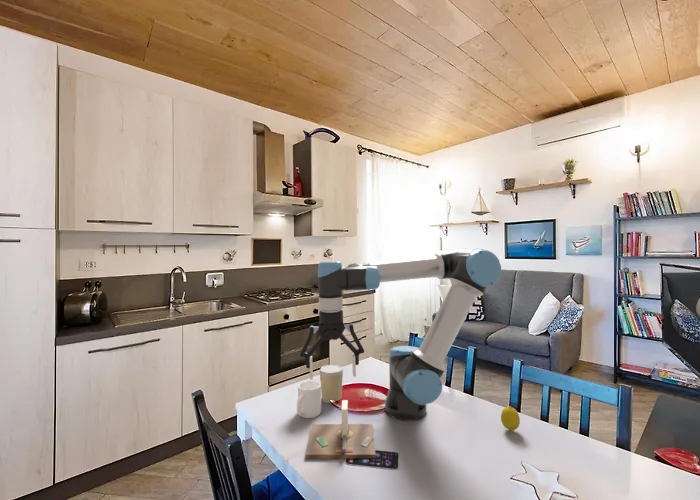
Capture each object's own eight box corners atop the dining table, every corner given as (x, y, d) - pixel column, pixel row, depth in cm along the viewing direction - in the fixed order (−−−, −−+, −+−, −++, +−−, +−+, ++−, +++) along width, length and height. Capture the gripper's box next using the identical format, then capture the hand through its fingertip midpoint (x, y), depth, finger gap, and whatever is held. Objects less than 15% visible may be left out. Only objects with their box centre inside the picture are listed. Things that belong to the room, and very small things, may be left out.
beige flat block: (348, 427, 107) (348, 400, 107) (348, 452, 94) (348, 421, 94) (341, 427, 107) (341, 400, 107) (339, 452, 94) (339, 421, 94)
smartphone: (349, 447, 99) (399, 452, 97) (349, 449, 100) (399, 454, 97) (344, 463, 92) (398, 469, 90) (344, 465, 92) (398, 471, 90)
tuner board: (372, 427, 110) (372, 423, 110) (375, 458, 94) (375, 453, 94) (312, 427, 111) (312, 423, 111) (305, 458, 95) (305, 453, 95)
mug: (307, 426, 111) (307, 396, 111) (287, 421, 115) (287, 391, 115) (325, 410, 122) (325, 382, 122) (306, 405, 126) (306, 378, 126)
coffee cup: (329, 391, 138) (329, 362, 138) (347, 397, 133) (347, 367, 132) (314, 399, 130) (314, 369, 130) (333, 406, 125) (333, 375, 125)
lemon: (519, 428, 109) (519, 404, 109) (520, 437, 104) (520, 412, 104) (500, 424, 112) (500, 401, 111) (500, 433, 107) (500, 408, 106)
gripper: (368, 305, 110) (369, 369, 110) (292, 309, 107) (294, 374, 108) (371, 310, 102) (373, 378, 102) (290, 314, 100) (292, 384, 100)
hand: (333, 376), depth 105 cm, fingers open, 13 cm apart
